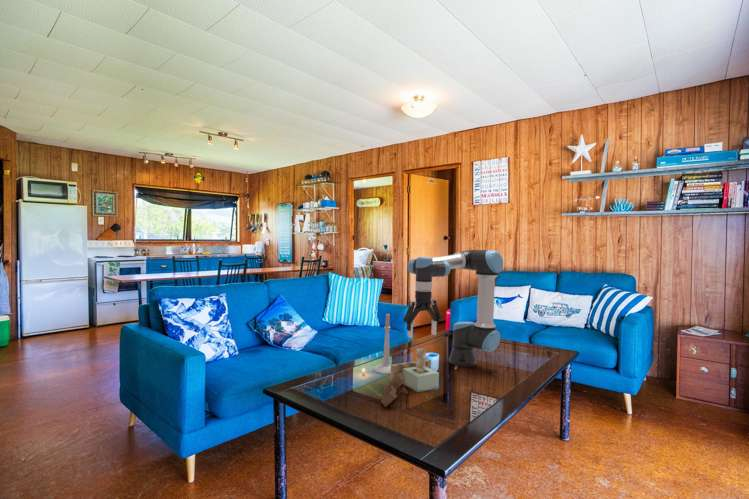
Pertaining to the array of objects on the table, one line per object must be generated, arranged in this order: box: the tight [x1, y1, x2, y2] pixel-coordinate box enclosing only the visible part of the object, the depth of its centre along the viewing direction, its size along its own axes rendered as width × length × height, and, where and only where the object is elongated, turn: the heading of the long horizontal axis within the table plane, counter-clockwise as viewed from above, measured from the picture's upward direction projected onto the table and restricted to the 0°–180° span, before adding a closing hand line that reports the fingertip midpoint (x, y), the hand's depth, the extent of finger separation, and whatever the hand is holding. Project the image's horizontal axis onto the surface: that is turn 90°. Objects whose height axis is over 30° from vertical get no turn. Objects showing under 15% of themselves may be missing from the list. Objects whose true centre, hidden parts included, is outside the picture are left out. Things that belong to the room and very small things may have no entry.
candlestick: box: [373, 313, 392, 375], centre depth 205 cm, size 13×13×30 cm
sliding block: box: [402, 366, 440, 393], centre depth 181 cm, size 12×12×7 cm
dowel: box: [415, 347, 427, 374], centre depth 181 cm, size 4×4×16 cm
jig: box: [389, 358, 432, 382], centre depth 179 cm, size 22×21×10 cm
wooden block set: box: [380, 373, 409, 408], centre depth 167 cm, size 18×9×10 cm
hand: (422, 336), depth 181 cm, fingers open, 13 cm apart
